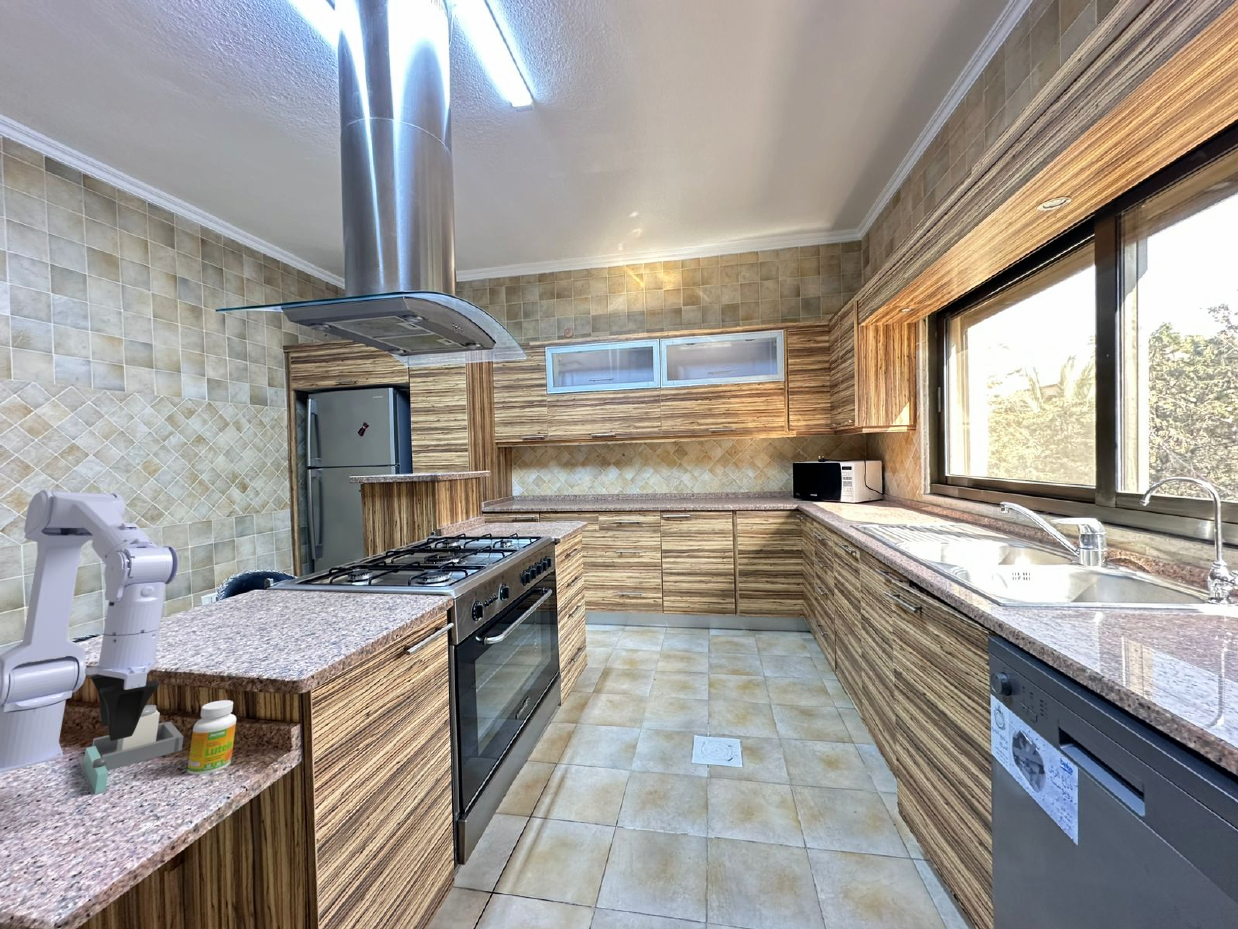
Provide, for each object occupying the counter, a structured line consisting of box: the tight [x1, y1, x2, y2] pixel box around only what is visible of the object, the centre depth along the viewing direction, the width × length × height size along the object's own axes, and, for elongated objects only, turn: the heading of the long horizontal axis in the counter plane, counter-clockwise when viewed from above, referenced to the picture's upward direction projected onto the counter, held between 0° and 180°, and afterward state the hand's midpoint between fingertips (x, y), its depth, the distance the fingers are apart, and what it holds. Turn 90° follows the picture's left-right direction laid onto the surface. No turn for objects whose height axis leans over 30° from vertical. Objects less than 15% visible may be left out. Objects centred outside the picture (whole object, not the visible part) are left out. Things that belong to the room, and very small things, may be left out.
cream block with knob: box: [116, 704, 161, 752], centre depth 80 cm, size 4×4×7 cm
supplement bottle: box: [187, 699, 237, 776], centre depth 77 cm, size 5×5×10 cm
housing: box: [77, 721, 184, 797], centre depth 77 cm, size 18×11×2 cm, turn 54°
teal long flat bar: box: [83, 746, 109, 795], centre depth 72 cm, size 13×1×3 cm, turn 54°
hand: (116, 730), depth 66 cm, fingers open, 6 cm apart
